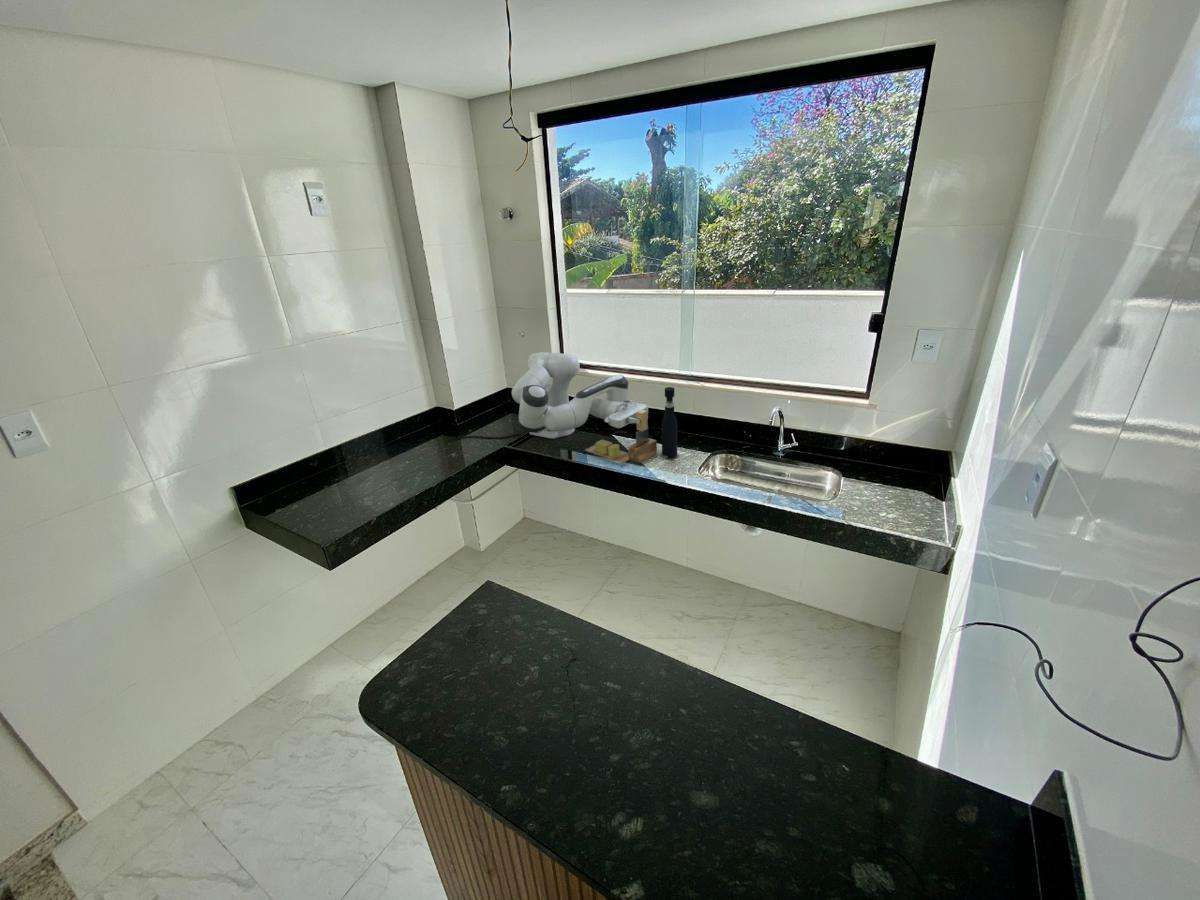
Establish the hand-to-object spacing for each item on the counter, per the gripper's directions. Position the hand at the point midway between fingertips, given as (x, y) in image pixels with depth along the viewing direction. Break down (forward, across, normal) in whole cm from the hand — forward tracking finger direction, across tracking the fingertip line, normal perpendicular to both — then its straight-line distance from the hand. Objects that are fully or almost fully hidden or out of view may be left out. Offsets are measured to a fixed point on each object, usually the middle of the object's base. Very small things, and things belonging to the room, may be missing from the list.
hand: (643, 419), depth 198 cm
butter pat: (-12, -6, +17) cm, 22 cm away
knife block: (-1, 0, +18) cm, 18 cm away
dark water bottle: (+7, +8, +18) cm, 21 cm away
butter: (-18, -6, +17) cm, 25 cm away
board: (-15, -6, +18) cm, 24 cm away
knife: (-1, 0, +12) cm, 13 cm away
